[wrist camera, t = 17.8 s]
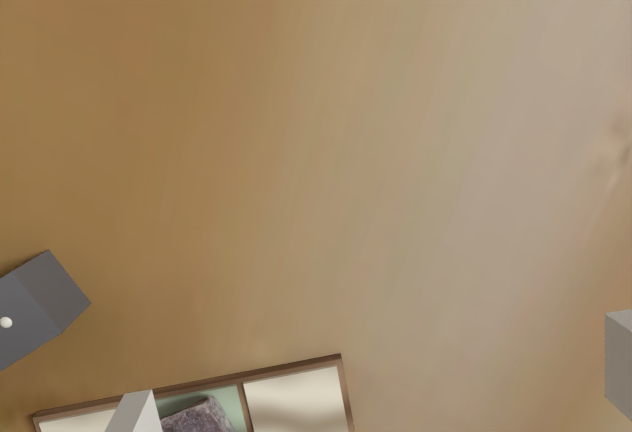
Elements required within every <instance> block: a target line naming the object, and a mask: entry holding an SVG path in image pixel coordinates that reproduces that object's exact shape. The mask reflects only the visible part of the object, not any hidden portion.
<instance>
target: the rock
mask: <svg viewBox="0 0 632 432" xmlns="http://www.w3.org/2000/svg"><path fill="white" fill-rule="evenodd" d="M160 423H161V427H162V431H163V432H235V430H234V428H233V426H232V424H231V422H230V420H229V419H228V418H227V416H226V413H225V412H224V410H223V408H222V407H221V405H220V404H219V402H218V401H217V399H216V398H215V397H214V396H208V397H205V398H203V399H201V400H199V401H198V402H196V403H195V404H193V405H190V406H188V407H186V408H184V409H182V410H179V411H176V412H174V413H172V414H170V415H167V416H165V417H163V418H161V419H160Z"/></svg>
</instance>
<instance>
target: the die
mask: <svg viewBox="0 0 632 432" xmlns="http://www.w3.org/2000/svg"><path fill="white" fill-rule="evenodd" d="M90 304H91V302H90V301H89V299H88V298H87V297H86V296H85V294H84V293H83V292H82V291H81V289H80V288H79V287H78V286H77V284H76V283H75V282H74V281H73V279H72V278H71V277H70V276H69V274H68V273H67V272H66V271H65V269H64V268H63V267H62V266H61V264H60V263H59V262H58V261H57V259H56V258H55V257H54V256H53V254H52V253H51V252H50V251H49V249H48V250H47V251H45V252H43V253H42V254H40V255H38V256H37V257H35V258H33V259H32V260H30V261H28V262H27V263H25V264H23V265H21V266H20V267H18V268H16V269H15V270H13V271H11V272H10V273H8V274H7V275H5V276H4V277H2V278H0V371H2V370H3V369H5V368H7V367H8V366H10V365H11V364H13V363H14V362H16V361H18V360H19V359H21V358H22V357H24V356H26V355H27V354H29V353H30V352H32V351H34V350H35V349H37V348H38V347H40V346H42V345H43V344H45V343H46V342H48V341H50V340H51V339H53V338H54V337H56V336H58V335H59V334H61V333H62V332H63V331H64V330H65V329H66V328H67V327H68V326H69V325H70V324H71V323H72V322H73V321H74V320H75V319H76V318H77V317H78V316H79V315H80V314H81V313H82V312H83V311H84V310H85V309H86V308H87V307H88V306H89V305H90Z"/></svg>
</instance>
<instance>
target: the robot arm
mask: <svg viewBox="0 0 632 432" xmlns="http://www.w3.org/2000/svg"><path fill="white" fill-rule="evenodd" d="M605 397H606V398H607V399H608V400H609V401H610V402H611V403H612V404H613V405H615V406H616V407H617V408H618V409H619V410H620V411H621V412H622V413H623V414H624V415H625V416H626V417H628V418H629V419H630V420H631V421H632V310H631V309H628V310H622V311H616V312H610V313H605ZM104 432H163V431H162V427H161V423H160V419H159V415H158V411H157V408H156V404H155V400H154V396H153V392H152V389H150V390H144V391H138V392H132V393H126V394H124V396H123V398H122V399H121V401H120V403H119V405H118V407H117V409H116V411H115V412H114V414H113V416H112V418H111V420H110V422H109V424H108V426H107V427H106V429H105V431H104Z"/></svg>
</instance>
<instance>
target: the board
mask: <svg viewBox="0 0 632 432" xmlns="http://www.w3.org/2000/svg"><path fill="white" fill-rule="evenodd" d="M152 392H153V396H154V400H155V404H156V408H157V411H158V415H159V419H161V418H163V417H165V416H167V415H170V414H172V413H174V412H176V411H179V410H182V409H184V408H186V407H188V406H190V405H193V404H195V403H196V402H198V401H199V400H201V399H203V398H205V397H208V396H214V397H215V398H216V399H217V401H218V402H219V404H220V405H221V407H222V408H223V410H224V412H225V413H226V416H227V418H228V419H229V420H230V422H231V424H232V426H233V428H234V430H235V432H355V430H354V424H353V419H352V413H351V408H350V402H349V397H348V391H347V385H346V380H345V374H344V369H343V363H342V358H341V353H340V354H335V355H329V356H324V357H319V358H314V359H309V360H303V361H298V362H293V363H288V364H282V365H277V366H272V367H267V368H262V369H256V370H251V371H246V372H241V373H236V374H230V375H225V376H220V377H215V378H210V379H204V380H199V381H194V382H189V383H184V384H178V385H173V386H168V387H163V388H157V389H152ZM123 396H124V395H121V396H116V397H111V398H105V399H100V400H95V401H90V402H85V403H79V404H74V405H69V406H64V407H59V408H53V409H48V410H43V411H38V412H37V413H36V414H35V415H34V416H33V418H32V419H33V422H34V425H35V428H36V431H37V432H104V431H105V429H106V427H107V426H108V424H109V422H110V420H111V418H112V416H113V414H114V412H115V411H116V409H117V407H118V405H119V403H120V401H121V399H122V398H123Z"/></svg>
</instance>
